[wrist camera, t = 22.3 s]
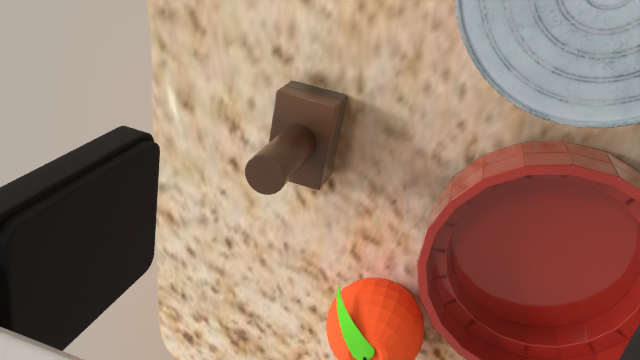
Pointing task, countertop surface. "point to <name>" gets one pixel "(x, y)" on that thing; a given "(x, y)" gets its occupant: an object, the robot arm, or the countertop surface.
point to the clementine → (375, 322)
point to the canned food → (559, 56)
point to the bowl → (535, 255)
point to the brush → (299, 139)
